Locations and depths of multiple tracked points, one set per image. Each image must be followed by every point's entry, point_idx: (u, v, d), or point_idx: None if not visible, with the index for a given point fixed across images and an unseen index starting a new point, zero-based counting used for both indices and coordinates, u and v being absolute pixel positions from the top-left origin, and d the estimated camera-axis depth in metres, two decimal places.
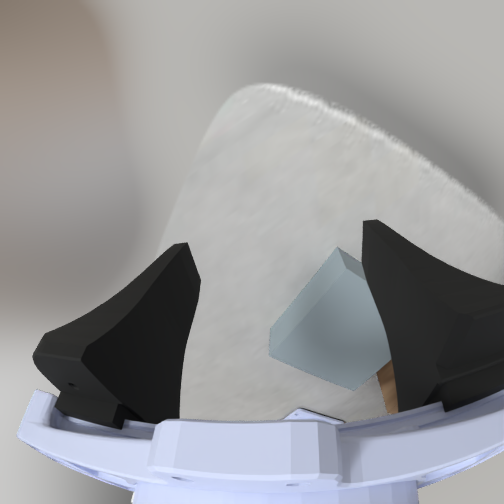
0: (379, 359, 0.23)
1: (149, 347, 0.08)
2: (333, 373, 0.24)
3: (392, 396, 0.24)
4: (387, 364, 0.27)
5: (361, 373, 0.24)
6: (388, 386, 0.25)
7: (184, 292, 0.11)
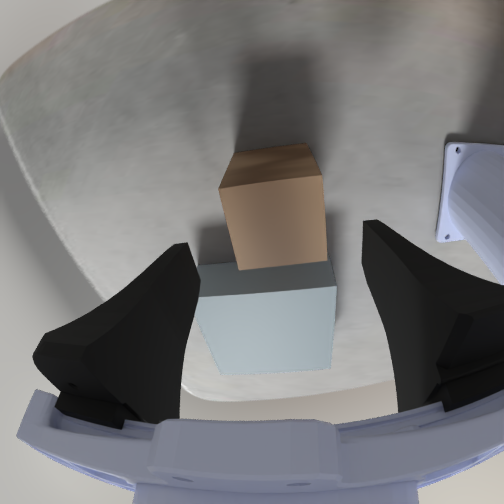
0: (267, 304, 0.19)
1: (149, 347, 0.08)
2: (319, 325, 0.20)
3: None
4: None
5: (301, 303, 0.19)
6: None
7: (184, 292, 0.11)
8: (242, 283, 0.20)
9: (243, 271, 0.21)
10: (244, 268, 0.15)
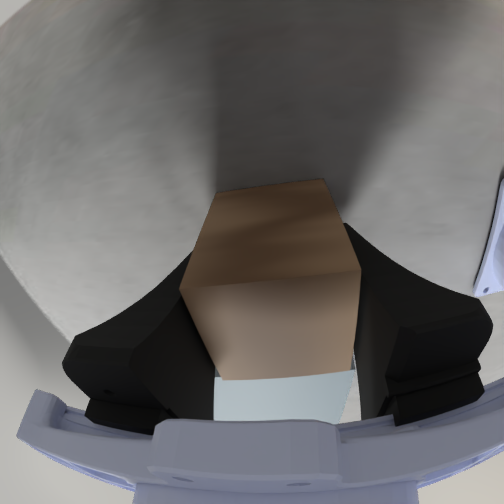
0: (265, 386, 0.14)
1: (188, 347, 0.08)
2: (328, 402, 0.15)
3: None
4: None
5: (307, 386, 0.14)
6: None
7: None
8: None
9: None
10: (230, 379, 0.10)
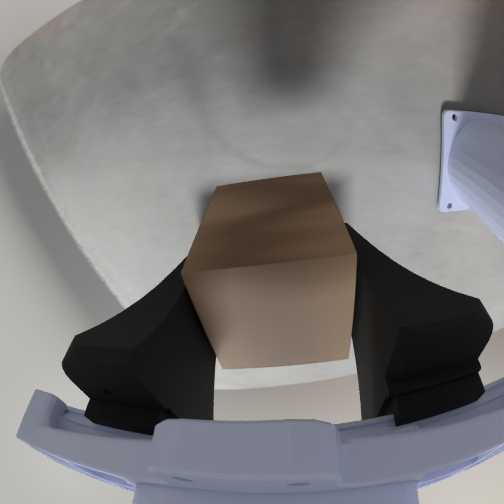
0: None
1: (188, 347, 0.08)
2: None
3: None
4: None
5: None
6: None
7: None
8: None
9: None
10: (230, 367, 0.10)
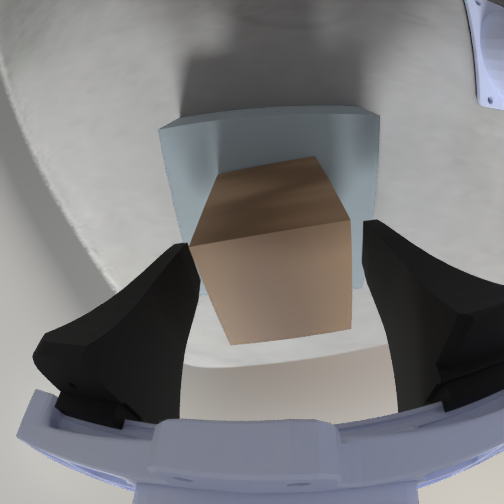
0: (278, 138, 0.12)
1: (149, 347, 0.08)
2: (354, 190, 0.13)
3: None
4: None
5: (329, 142, 0.12)
6: None
7: (184, 292, 0.11)
8: (241, 114, 0.13)
9: (243, 111, 0.14)
10: (237, 343, 0.10)
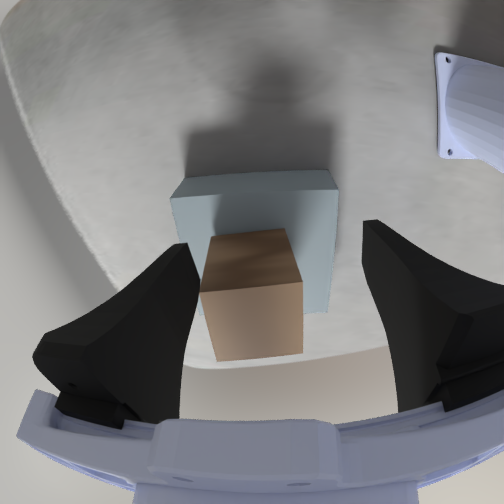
0: (260, 208, 0.17)
1: (149, 347, 0.08)
2: (318, 244, 0.18)
3: None
4: None
5: (298, 210, 0.17)
6: None
7: (184, 292, 0.11)
8: (232, 186, 0.18)
9: (235, 179, 0.19)
10: (222, 360, 0.14)
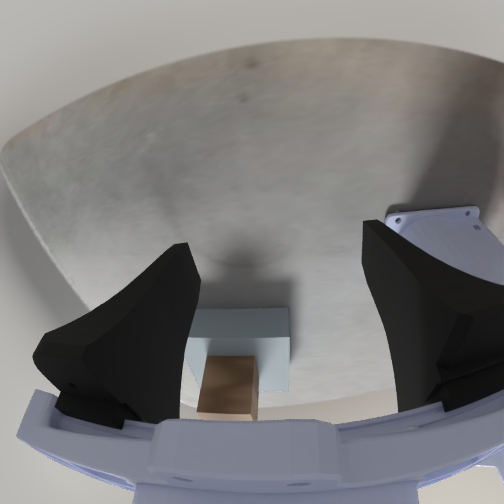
0: (236, 345, 0.25)
1: (149, 347, 0.08)
2: (277, 361, 0.26)
3: None
4: None
5: (262, 346, 0.25)
6: None
7: (184, 292, 0.11)
8: (218, 328, 0.25)
9: (219, 317, 0.26)
10: None
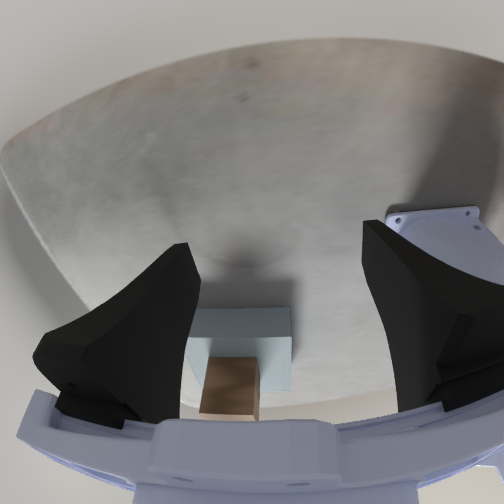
0: (238, 345, 0.25)
1: (149, 347, 0.08)
2: (279, 361, 0.26)
3: None
4: None
5: (264, 346, 0.25)
6: None
7: (184, 292, 0.11)
8: (219, 328, 0.25)
9: (221, 317, 0.26)
10: None
